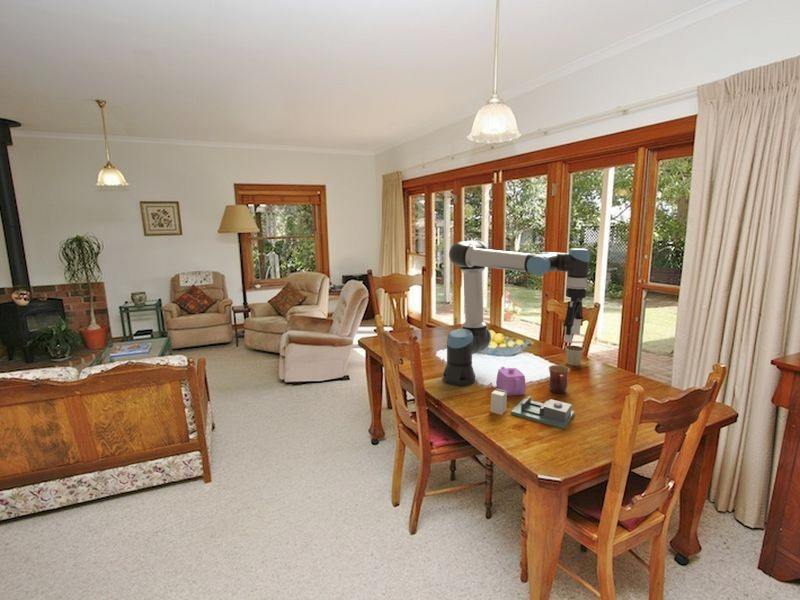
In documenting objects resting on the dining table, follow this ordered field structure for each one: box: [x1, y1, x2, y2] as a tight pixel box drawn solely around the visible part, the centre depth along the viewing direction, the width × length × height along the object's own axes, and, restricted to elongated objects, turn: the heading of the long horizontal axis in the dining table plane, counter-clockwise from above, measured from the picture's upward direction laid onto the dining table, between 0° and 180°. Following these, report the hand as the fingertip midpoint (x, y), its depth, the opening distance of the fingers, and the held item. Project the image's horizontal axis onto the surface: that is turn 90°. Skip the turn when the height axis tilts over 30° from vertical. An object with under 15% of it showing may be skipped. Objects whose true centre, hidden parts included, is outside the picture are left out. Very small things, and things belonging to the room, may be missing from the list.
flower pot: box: [564, 344, 585, 367], centre depth 213 cm, size 9×9×9 cm
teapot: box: [495, 366, 527, 397], centre depth 182 cm, size 18×10×10 cm, turn 8°
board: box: [510, 395, 575, 430], centre depth 160 cm, size 20×14×6 cm
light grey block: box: [489, 388, 508, 416], centre depth 163 cm, size 5×5×8 cm
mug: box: [548, 364, 571, 394], centre depth 179 cm, size 12×9×10 cm
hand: (572, 338), depth 170 cm, fingers open, 13 cm apart
